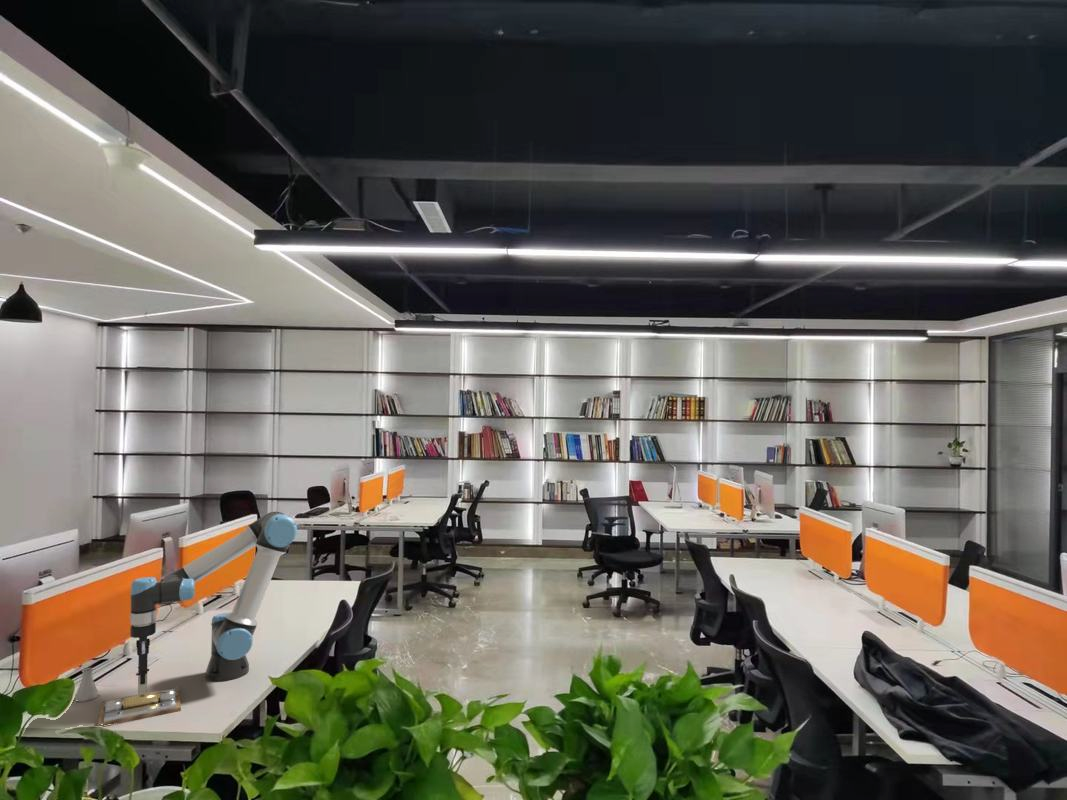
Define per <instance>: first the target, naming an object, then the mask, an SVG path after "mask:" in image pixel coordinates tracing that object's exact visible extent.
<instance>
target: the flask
mask: <svg viewBox="0 0 1067 800" xmlns="http://www.w3.org/2000/svg"><path fill="white" fill-rule="evenodd" d="M93 671H94V668H93V667H88V668H84V669H82V670H81V672H82V677H81V681H80V683H79V686H78V689H77V691H76V694H75V695H74V697H73V700H74V701H75V700H78V702H81V703H82V702H83V703H84V702H87V701H91V700H94V699H96V698H98V697H100V693H99V690H98V688H97V686H96V683H95V681H94V677H93Z"/></svg>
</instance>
